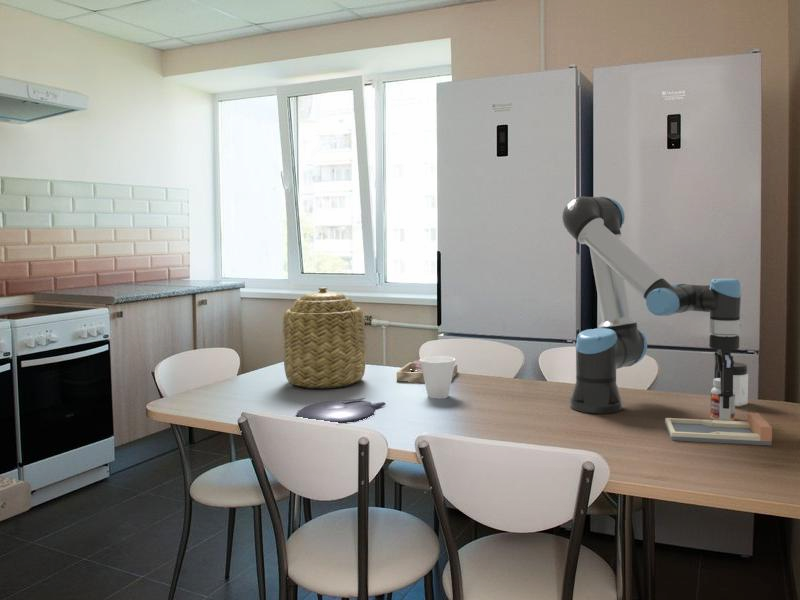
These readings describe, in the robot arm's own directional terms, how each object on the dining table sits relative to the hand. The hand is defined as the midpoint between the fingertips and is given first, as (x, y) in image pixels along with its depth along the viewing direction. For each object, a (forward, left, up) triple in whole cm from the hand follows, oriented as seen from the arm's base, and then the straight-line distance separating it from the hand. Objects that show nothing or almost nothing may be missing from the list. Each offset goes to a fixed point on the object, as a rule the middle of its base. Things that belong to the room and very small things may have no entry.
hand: (722, 416), depth 192 cm
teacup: (-96, +42, -1) cm, 104 cm away
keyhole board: (-5, -16, -1) cm, 17 cm away
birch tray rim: (-94, +42, -1) cm, 103 cm away
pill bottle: (0, 0, -1) cm, 1 cm away
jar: (+6, +20, -1) cm, 21 cm away
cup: (-84, +13, -1) cm, 85 cm away
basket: (-129, +27, -1) cm, 132 cm away
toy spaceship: (-109, -12, -2) cm, 110 cm away
